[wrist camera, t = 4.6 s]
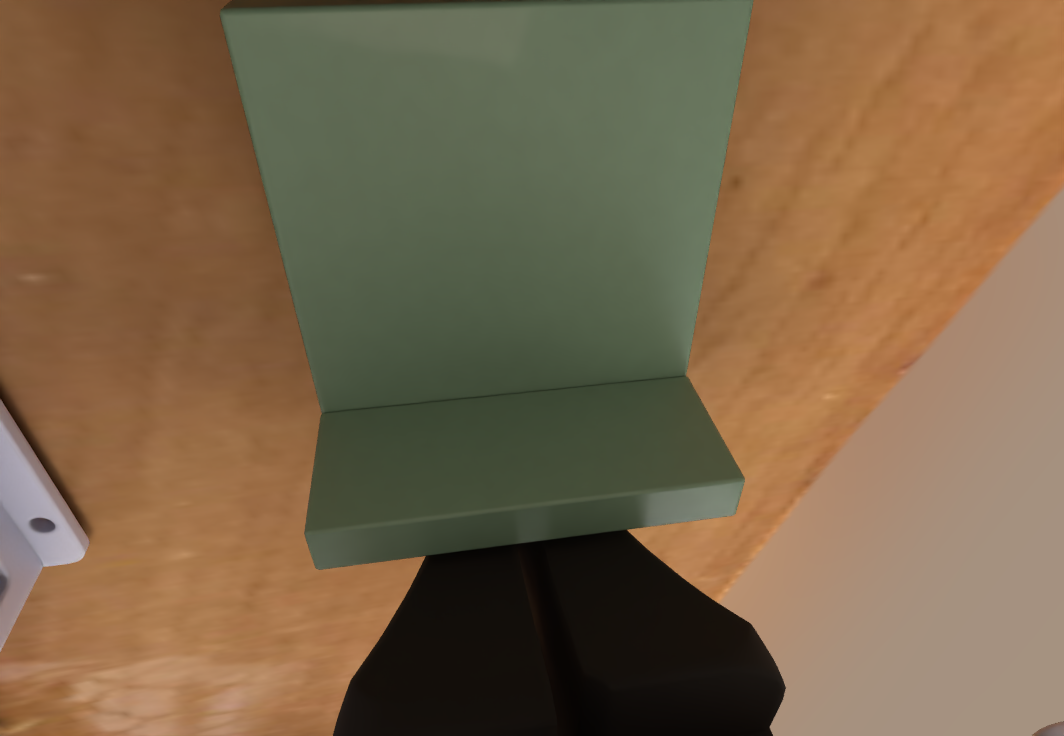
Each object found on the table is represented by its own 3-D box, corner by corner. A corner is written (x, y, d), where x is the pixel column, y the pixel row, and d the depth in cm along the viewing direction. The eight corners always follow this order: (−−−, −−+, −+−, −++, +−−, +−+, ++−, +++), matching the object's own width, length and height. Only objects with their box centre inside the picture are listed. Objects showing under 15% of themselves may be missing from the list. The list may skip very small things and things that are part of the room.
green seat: (618, 316, 15) (728, 543, 10) (349, 339, 14) (323, 598, 9) (653, -45, 11) (873, 37, 6) (272, -38, 10) (147, 63, 5)
